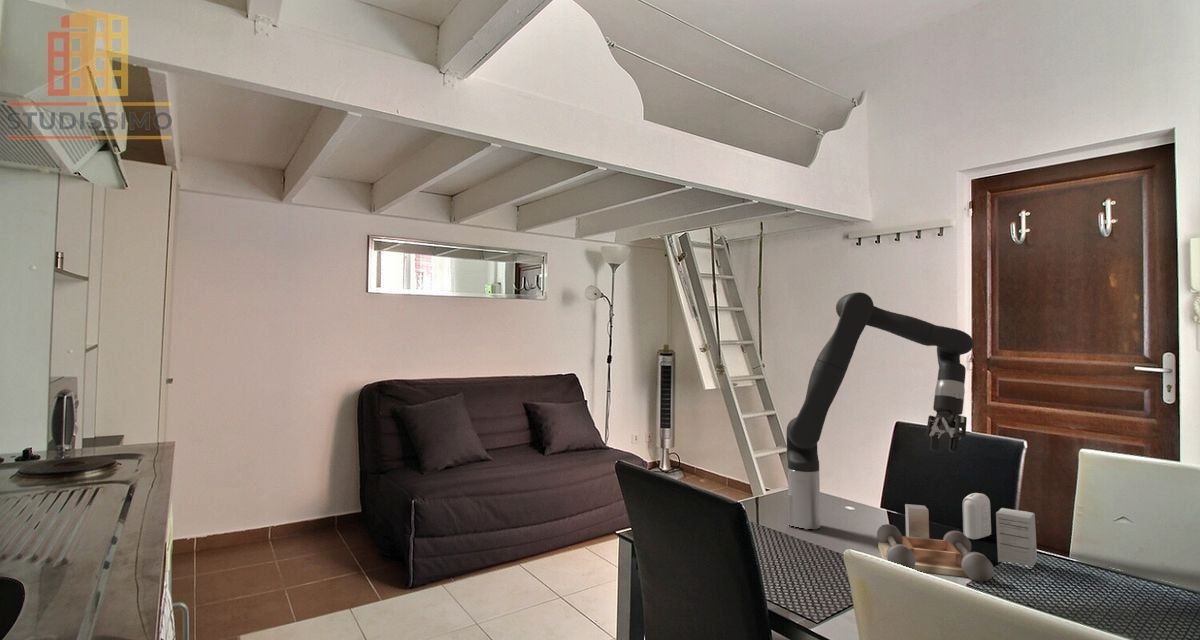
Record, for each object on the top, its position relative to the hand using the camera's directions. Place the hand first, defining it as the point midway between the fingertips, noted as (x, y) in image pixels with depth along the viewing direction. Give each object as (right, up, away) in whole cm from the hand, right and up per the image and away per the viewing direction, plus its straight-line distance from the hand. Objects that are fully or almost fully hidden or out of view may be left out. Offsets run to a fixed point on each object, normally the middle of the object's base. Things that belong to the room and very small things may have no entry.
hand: (943, 450), depth 167 cm
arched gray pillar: (+10, -25, 0) cm, 27 cm away
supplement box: (+5, -23, -23) cm, 33 cm away
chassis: (-17, -23, -23) cm, 37 cm away
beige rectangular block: (-12, -24, -8) cm, 28 cm away
